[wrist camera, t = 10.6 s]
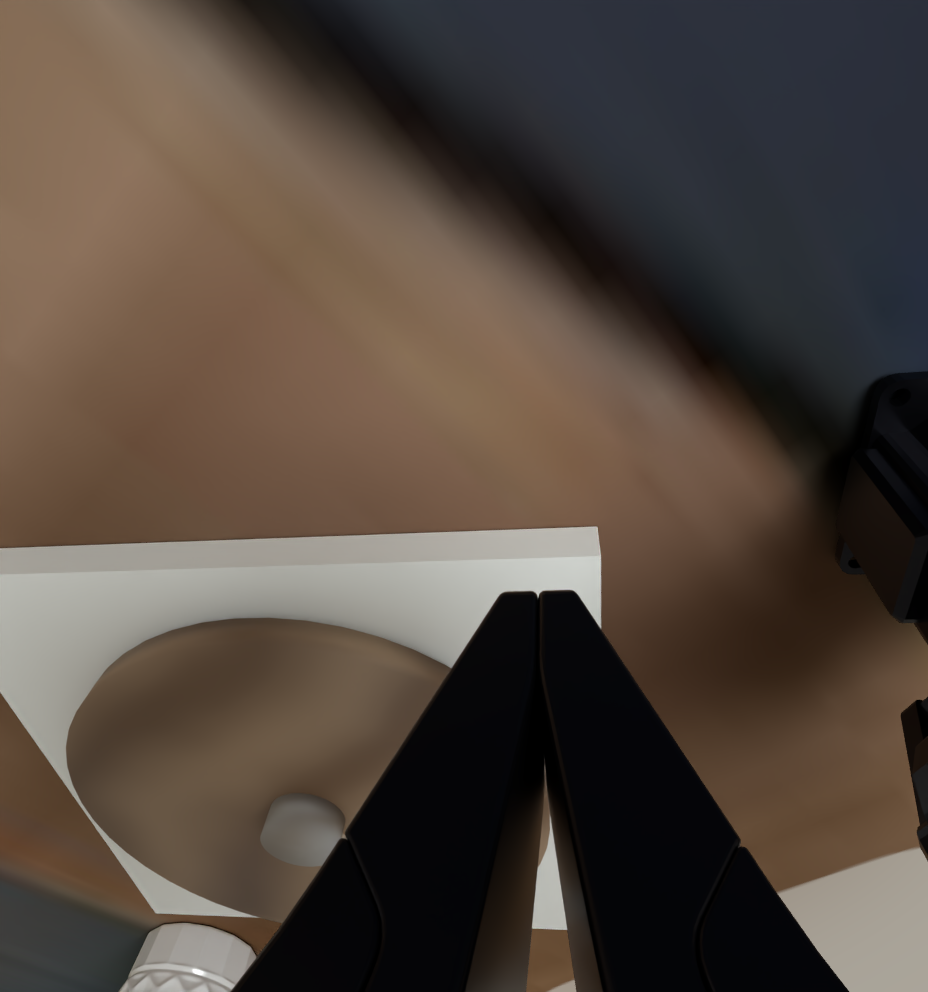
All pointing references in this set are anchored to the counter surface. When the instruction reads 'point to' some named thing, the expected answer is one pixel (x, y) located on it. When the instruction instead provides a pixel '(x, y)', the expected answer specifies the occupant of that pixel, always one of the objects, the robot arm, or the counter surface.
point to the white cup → (189, 960)
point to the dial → (246, 750)
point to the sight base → (263, 594)
